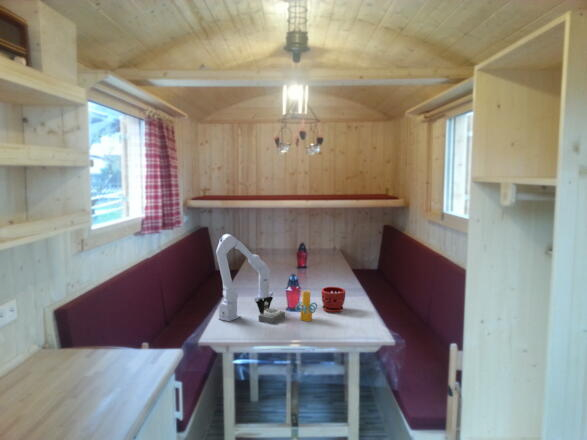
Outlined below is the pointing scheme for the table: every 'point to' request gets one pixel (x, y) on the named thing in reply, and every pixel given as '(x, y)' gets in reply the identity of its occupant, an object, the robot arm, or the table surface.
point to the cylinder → (306, 306)
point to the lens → (265, 306)
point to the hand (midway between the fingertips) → (264, 311)
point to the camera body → (271, 316)
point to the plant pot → (333, 299)
